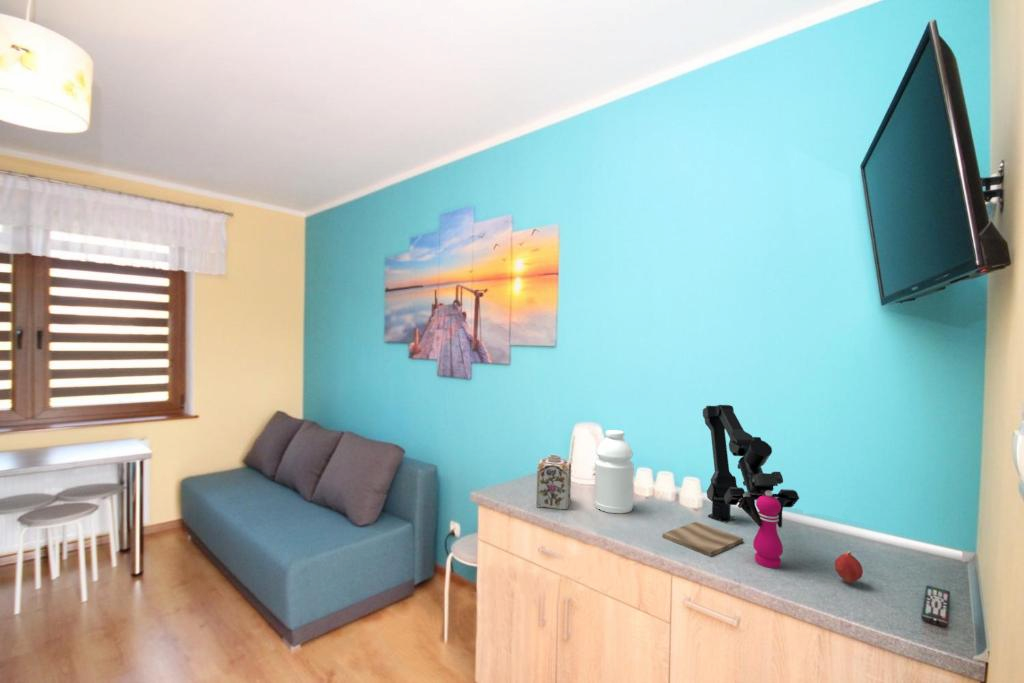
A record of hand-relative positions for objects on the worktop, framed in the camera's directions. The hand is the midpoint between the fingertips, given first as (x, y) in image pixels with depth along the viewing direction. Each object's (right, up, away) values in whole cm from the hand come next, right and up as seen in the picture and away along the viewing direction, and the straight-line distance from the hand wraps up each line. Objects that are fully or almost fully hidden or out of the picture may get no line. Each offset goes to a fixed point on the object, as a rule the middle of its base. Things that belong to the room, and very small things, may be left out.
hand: (770, 526), depth 126 cm
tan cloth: (-12, -11, +16) cm, 23 cm away
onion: (+15, -11, -9) cm, 20 cm away
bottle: (-33, -11, +44) cm, 56 cm away
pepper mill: (0, -11, +1) cm, 11 cm away
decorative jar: (-55, -10, +47) cm, 73 cm away
